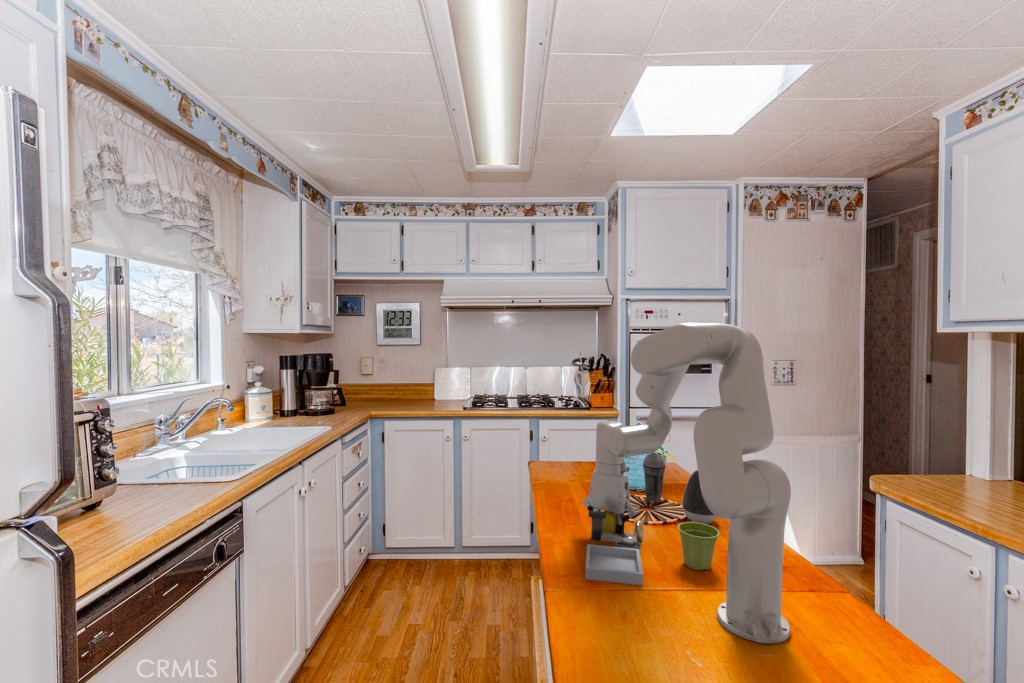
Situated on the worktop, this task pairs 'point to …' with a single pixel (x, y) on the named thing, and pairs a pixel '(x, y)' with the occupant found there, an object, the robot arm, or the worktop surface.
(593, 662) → the worktop surface
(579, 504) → the worktop surface
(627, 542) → the crank handle
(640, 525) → the crank base
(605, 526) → the lemon
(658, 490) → the beverage cup
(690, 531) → the plant pot
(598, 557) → the tray
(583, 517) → the worktop surface
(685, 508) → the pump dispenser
